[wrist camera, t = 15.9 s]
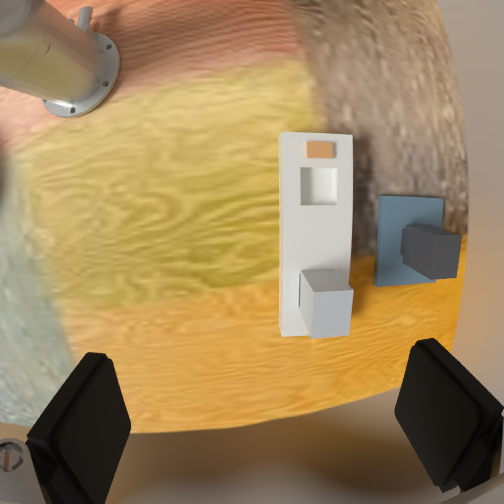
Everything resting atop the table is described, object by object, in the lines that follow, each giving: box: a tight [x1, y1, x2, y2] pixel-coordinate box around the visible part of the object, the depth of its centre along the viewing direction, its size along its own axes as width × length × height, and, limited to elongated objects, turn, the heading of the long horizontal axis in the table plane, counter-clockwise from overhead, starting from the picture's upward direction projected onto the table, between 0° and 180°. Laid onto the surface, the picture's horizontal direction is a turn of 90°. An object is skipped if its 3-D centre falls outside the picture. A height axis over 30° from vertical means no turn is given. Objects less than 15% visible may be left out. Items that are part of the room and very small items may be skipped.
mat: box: [374, 195, 443, 287], centre depth 39 cm, size 12×10×1 cm
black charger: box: [400, 225, 462, 280], centre depth 34 cm, size 5×4×8 cm
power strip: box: [278, 132, 353, 337], centre depth 37 cm, size 24×8×4 cm, turn 1°
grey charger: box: [299, 269, 354, 339], centre depth 34 cm, size 5×4×8 cm
